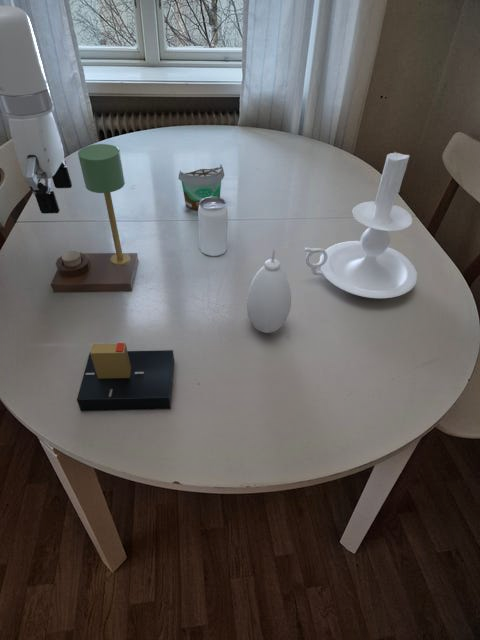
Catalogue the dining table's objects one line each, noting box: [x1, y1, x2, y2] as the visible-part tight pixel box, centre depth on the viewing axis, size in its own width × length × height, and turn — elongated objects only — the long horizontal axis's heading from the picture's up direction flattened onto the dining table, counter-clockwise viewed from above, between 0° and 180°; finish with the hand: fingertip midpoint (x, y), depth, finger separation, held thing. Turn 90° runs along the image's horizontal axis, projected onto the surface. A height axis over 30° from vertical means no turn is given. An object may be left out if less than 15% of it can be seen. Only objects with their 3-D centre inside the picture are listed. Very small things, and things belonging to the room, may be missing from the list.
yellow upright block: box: [89, 342, 131, 379], centre depth 67 cm, size 5×2×6 cm, turn 93°
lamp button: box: [61, 250, 82, 267], centre depth 89 cm, size 4×4×2 cm
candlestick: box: [304, 151, 418, 299], centre depth 85 cm, size 21×25×28 cm
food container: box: [178, 163, 225, 212], centre depth 112 cm, size 12×6×10 cm, turn 114°
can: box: [197, 197, 228, 257], centre depth 97 cm, size 6×6×12 cm
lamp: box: [77, 143, 130, 266], centre depth 82 cm, size 7×7×23 cm
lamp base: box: [50, 251, 139, 293], centre depth 91 cm, size 16×11×4 cm
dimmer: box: [76, 349, 175, 412], centre depth 70 cm, size 14×10×3 cm
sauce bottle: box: [246, 249, 292, 334], centre depth 76 cm, size 8×8×18 cm
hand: (57, 199), depth 81 cm, fingers open, 9 cm apart
